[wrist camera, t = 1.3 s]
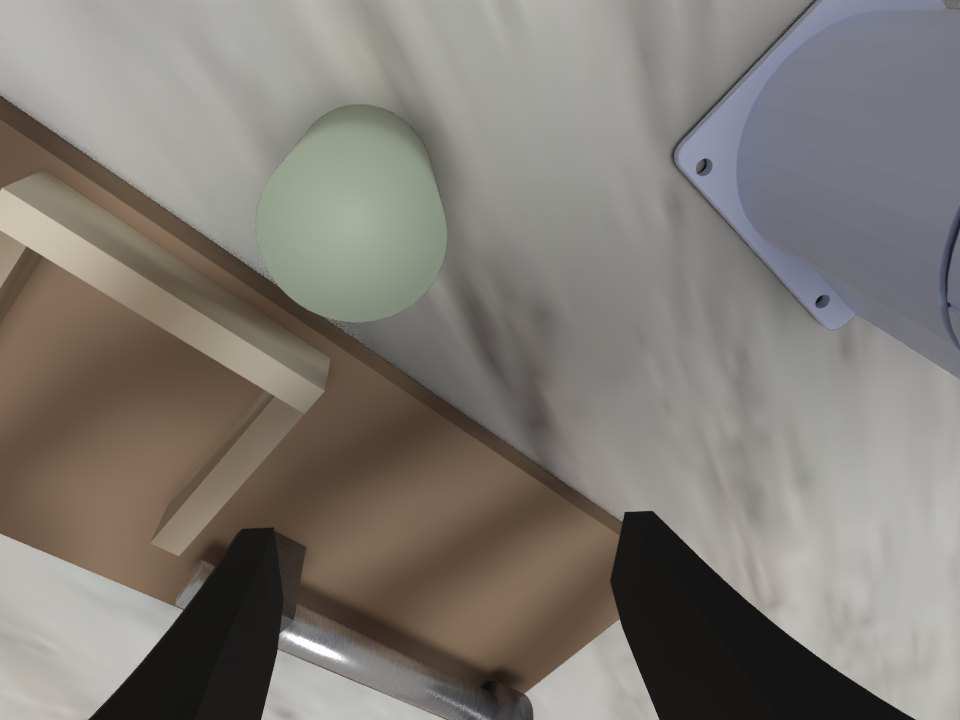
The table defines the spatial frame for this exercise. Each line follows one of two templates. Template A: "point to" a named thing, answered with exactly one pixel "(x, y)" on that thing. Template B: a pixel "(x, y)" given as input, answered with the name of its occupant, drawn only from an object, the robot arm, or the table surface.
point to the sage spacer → (354, 217)
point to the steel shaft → (384, 665)
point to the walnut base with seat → (261, 438)
